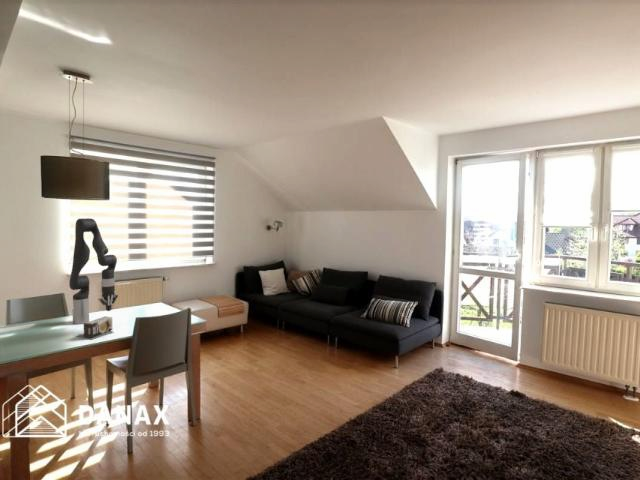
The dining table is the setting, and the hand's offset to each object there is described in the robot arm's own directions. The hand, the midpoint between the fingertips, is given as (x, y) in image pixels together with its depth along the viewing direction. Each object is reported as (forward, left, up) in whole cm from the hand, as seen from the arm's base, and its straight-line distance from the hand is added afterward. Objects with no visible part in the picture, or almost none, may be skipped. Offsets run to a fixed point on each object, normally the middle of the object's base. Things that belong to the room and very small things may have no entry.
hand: (108, 310), depth 235 cm
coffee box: (+1, -1, -8) cm, 8 cm away
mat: (0, -10, -13) cm, 16 cm away
